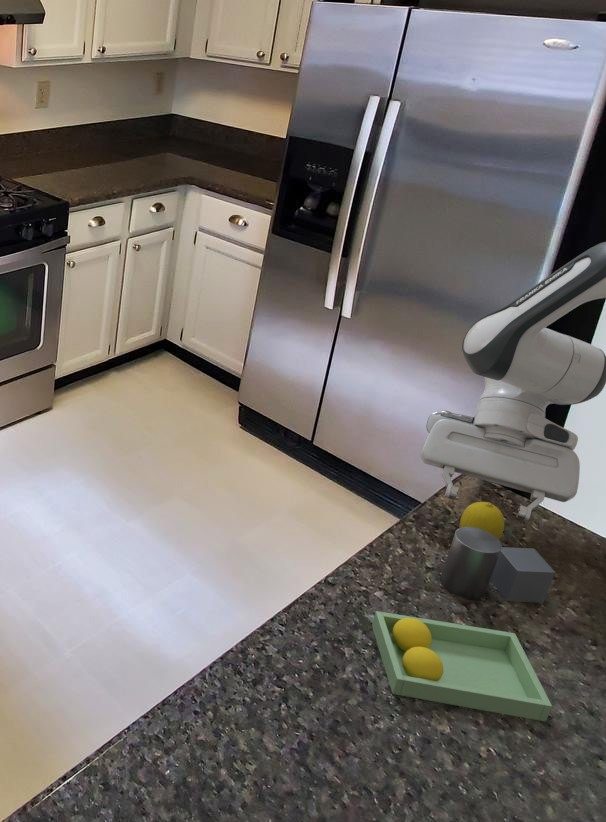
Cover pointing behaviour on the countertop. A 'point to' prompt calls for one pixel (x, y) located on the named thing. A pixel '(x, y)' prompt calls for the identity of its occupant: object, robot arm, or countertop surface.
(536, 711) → the tray
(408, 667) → the small lemon
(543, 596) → the grey block
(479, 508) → the lemon
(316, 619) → the countertop surface
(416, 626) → the small lemon
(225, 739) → the countertop surface
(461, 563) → the grey tin
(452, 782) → the countertop surface
